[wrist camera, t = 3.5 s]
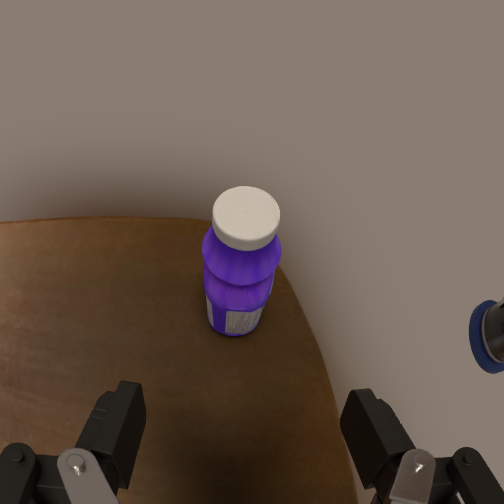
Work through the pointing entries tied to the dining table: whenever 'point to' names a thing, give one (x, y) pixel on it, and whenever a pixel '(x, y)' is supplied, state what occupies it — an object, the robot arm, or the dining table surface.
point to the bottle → (240, 258)
